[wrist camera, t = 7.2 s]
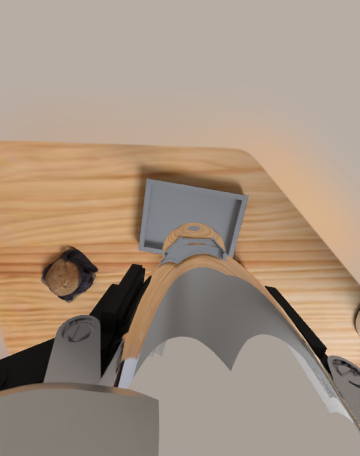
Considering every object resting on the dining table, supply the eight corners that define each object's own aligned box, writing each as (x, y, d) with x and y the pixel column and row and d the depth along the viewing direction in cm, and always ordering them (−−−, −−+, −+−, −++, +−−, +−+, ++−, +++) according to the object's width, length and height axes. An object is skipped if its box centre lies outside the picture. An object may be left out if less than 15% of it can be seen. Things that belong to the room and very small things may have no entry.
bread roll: (73, 303, 37) (61, 316, 33) (40, 276, 36) (23, 286, 32) (106, 271, 35) (96, 281, 31) (72, 241, 33) (58, 248, 30)
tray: (244, 195, 30) (248, 195, 28) (227, 260, 33) (230, 265, 31) (149, 178, 30) (146, 178, 27) (141, 245, 33) (138, 250, 30)
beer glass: (207, 202, 16) (411, 390, 2) (242, 264, 17) (527, 674, 3) (143, 240, 17) (-93, 561, 3) (181, 295, 18) (164, 710, 4)
